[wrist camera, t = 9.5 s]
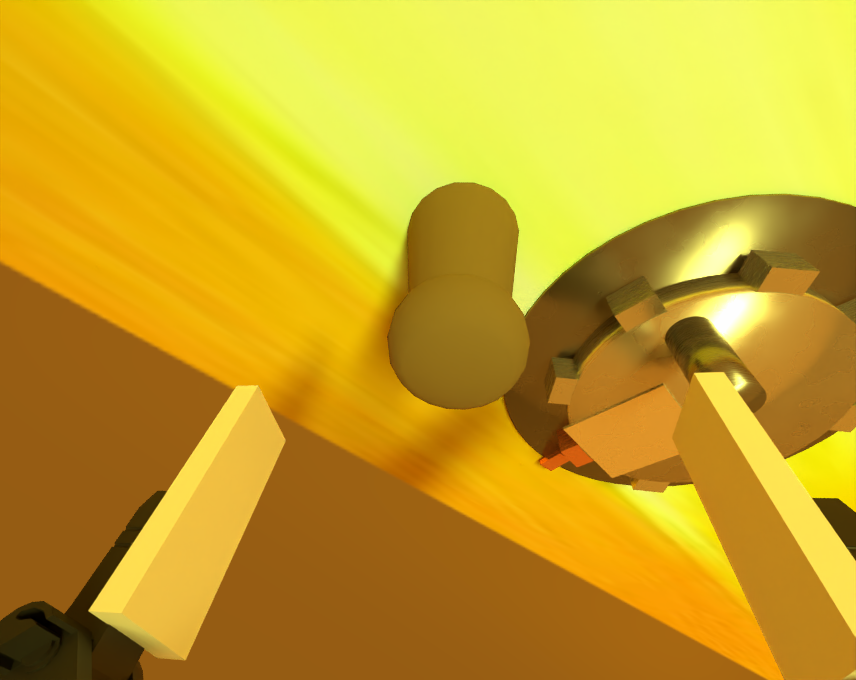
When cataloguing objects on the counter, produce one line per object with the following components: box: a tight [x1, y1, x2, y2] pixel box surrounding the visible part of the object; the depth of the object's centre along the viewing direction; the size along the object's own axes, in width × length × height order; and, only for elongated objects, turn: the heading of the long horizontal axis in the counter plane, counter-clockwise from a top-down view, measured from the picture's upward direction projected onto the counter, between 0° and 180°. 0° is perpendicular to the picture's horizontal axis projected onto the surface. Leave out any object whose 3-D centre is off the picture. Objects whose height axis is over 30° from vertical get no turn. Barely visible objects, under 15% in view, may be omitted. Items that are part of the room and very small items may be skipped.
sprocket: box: [544, 250, 856, 493], centre depth 24 cm, size 19×19×7 cm
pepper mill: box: [387, 183, 530, 409], centre depth 19 cm, size 6×6×11 cm
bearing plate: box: [504, 194, 856, 486], centre depth 27 cm, size 24×24×1 cm
